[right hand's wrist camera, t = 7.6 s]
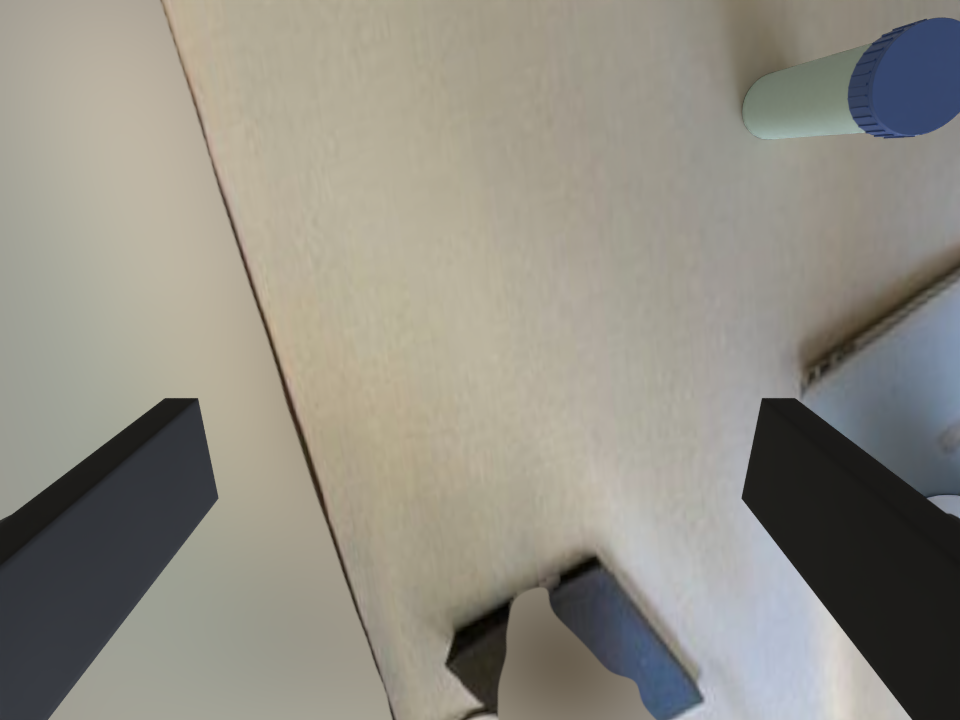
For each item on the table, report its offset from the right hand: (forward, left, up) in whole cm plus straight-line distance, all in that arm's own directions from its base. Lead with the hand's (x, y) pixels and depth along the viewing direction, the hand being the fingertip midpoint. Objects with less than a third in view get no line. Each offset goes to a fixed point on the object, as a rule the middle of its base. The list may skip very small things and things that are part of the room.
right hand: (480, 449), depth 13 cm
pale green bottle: (-11, +26, -41) cm, 49 cm away
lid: (-11, +26, -24) cm, 37 cm away
